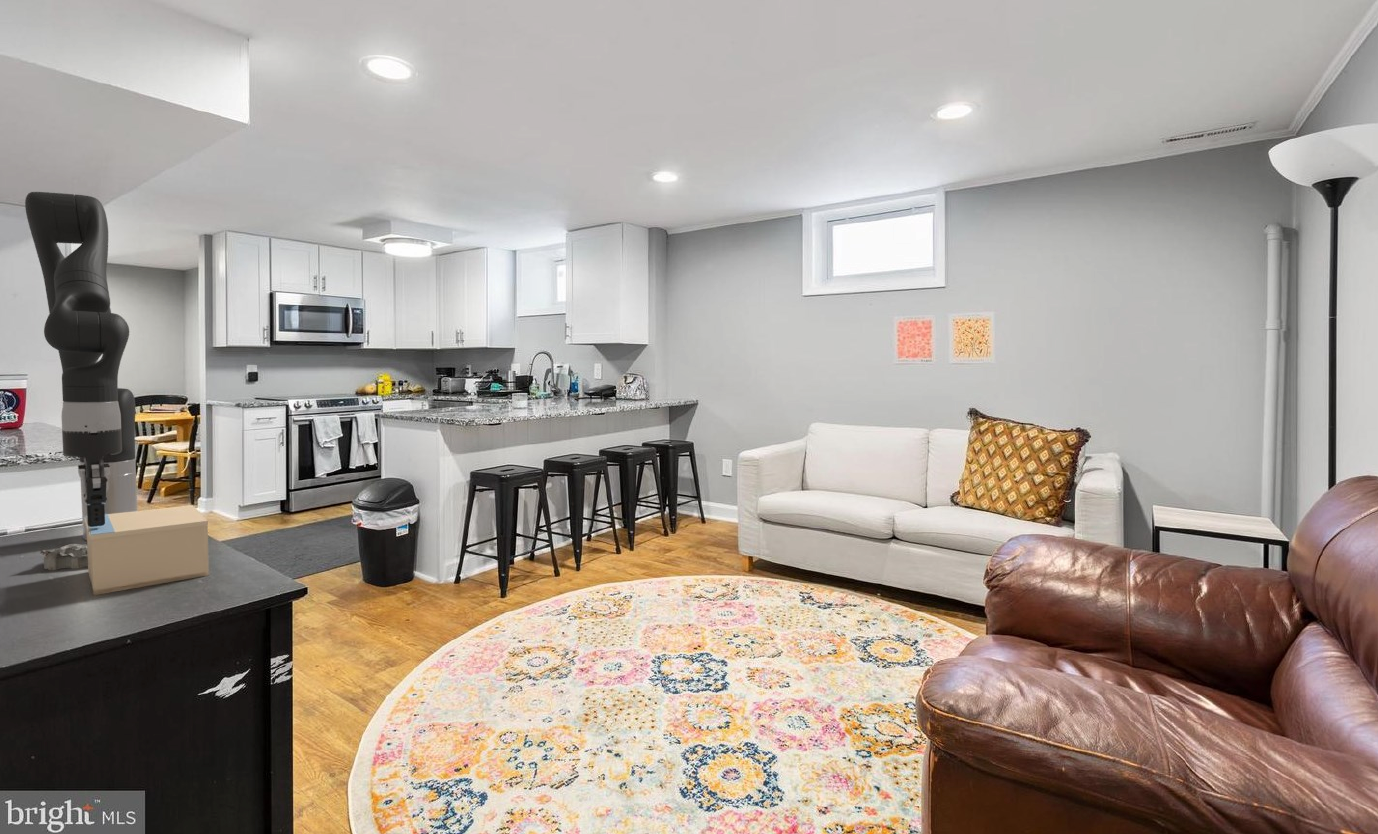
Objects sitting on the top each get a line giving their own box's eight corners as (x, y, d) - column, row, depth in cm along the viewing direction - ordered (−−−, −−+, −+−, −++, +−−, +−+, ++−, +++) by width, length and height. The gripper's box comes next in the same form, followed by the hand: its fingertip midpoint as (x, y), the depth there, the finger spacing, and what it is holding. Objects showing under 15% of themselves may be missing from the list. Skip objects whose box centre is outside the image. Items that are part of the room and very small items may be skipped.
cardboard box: (88, 571, 121) (86, 520, 120) (194, 555, 132) (192, 509, 131) (93, 595, 110) (91, 539, 109) (209, 575, 121) (207, 524, 120)
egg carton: (37, 572, 120) (35, 551, 120) (61, 560, 127) (60, 540, 127) (107, 568, 124) (106, 547, 123) (126, 556, 131) (126, 537, 130)
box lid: (84, 520, 120) (84, 516, 120) (192, 508, 132) (192, 504, 131) (89, 539, 109) (89, 534, 108) (207, 524, 120) (207, 520, 120)
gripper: (60, 425, 113) (65, 521, 114) (63, 432, 103) (67, 537, 105) (117, 423, 118) (121, 515, 119) (124, 429, 109) (128, 529, 110)
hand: (96, 525), depth 112 cm, fingers closed
